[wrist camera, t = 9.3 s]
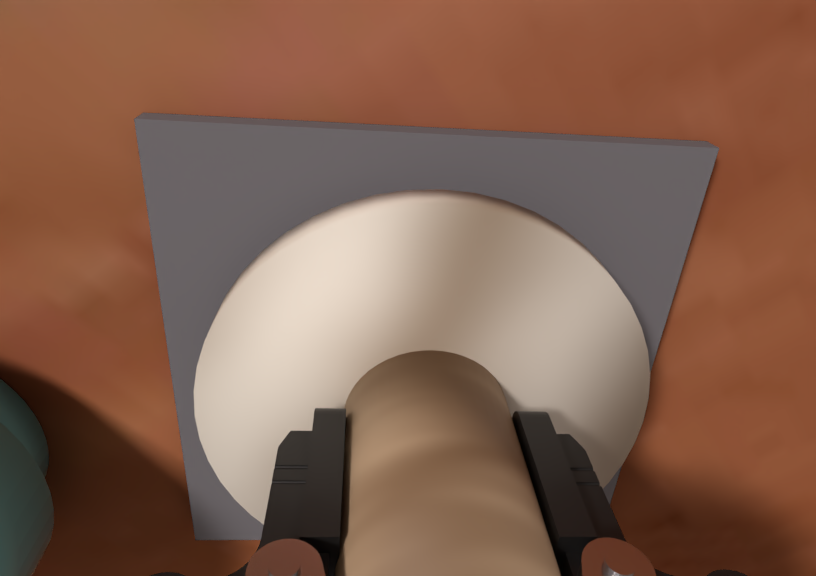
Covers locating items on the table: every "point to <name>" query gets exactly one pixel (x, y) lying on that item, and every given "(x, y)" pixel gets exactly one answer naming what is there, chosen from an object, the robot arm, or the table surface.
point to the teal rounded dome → (22, 487)
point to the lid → (424, 374)
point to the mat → (376, 174)
